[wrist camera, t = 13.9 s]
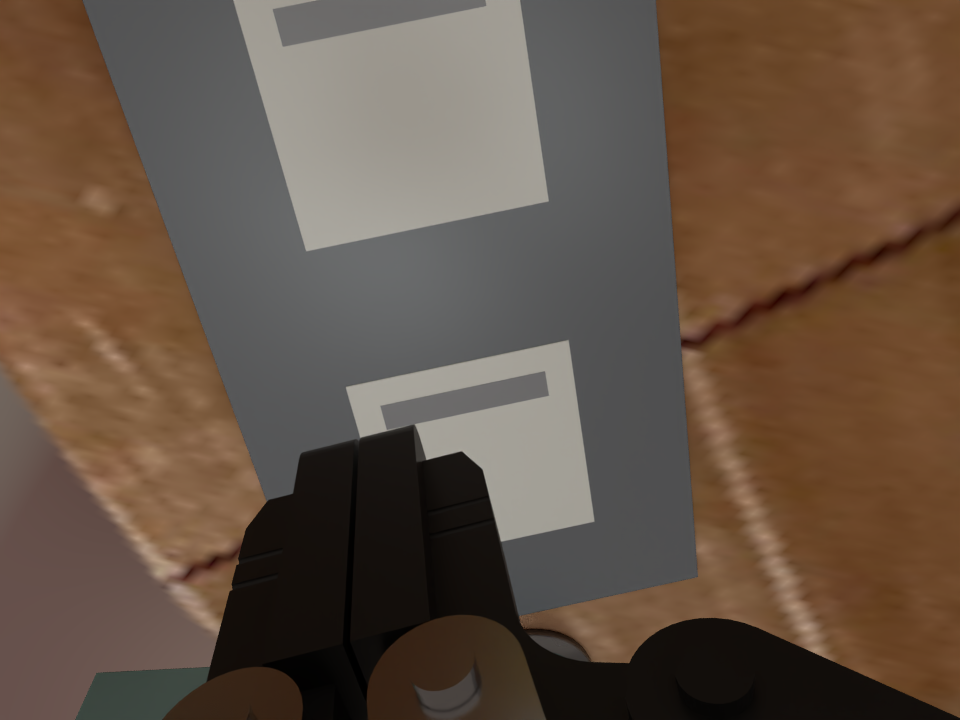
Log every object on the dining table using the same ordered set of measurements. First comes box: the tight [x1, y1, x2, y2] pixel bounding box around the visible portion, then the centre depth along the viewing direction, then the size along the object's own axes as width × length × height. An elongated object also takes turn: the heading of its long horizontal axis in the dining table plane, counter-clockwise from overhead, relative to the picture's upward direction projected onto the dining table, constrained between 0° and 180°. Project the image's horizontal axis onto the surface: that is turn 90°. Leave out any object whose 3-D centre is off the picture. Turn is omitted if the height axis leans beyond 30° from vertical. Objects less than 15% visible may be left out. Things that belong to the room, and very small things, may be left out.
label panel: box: [83, 0, 698, 616], centre depth 26 cm, size 16×28×1 cm, turn 10°
